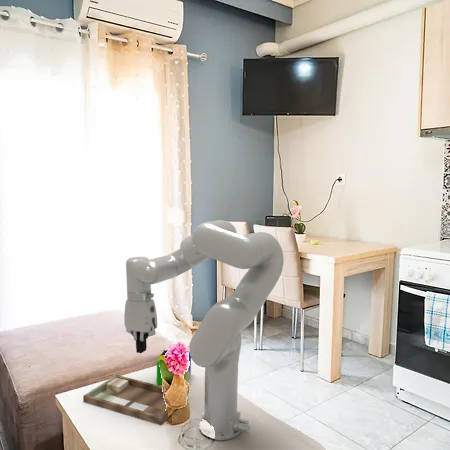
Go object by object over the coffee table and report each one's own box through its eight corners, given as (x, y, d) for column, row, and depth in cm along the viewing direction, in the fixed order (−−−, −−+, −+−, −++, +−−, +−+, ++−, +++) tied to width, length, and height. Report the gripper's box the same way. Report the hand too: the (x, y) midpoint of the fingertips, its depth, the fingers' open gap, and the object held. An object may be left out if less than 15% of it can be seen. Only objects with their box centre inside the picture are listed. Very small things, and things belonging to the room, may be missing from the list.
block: (128, 387, 138) (128, 380, 137) (118, 394, 133) (118, 387, 133) (116, 384, 140) (116, 377, 139) (106, 391, 135) (106, 383, 135)
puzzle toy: (190, 377, 149) (190, 351, 148) (185, 391, 139) (185, 363, 138) (164, 376, 150) (164, 350, 149) (156, 389, 140) (156, 361, 139)
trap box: (188, 403, 131) (188, 393, 131) (160, 430, 117) (160, 418, 116) (116, 384, 143) (116, 374, 143) (83, 406, 128) (83, 395, 128)
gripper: (165, 294, 130) (167, 350, 131) (127, 291, 136) (129, 344, 137) (152, 300, 123) (154, 359, 124) (112, 296, 129) (115, 352, 130)
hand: (141, 351), depth 131 cm, fingers closed
